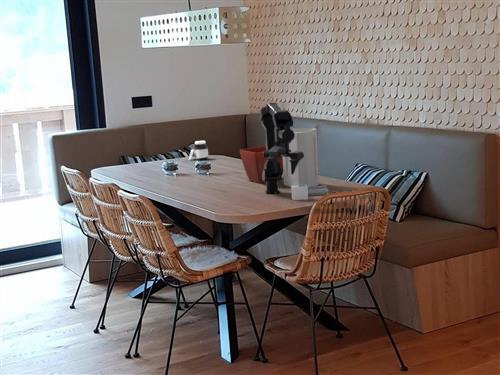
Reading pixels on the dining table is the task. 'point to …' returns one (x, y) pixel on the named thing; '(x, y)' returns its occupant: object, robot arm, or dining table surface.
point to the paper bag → (303, 159)
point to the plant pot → (255, 163)
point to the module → (299, 192)
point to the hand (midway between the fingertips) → (284, 173)
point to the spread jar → (199, 151)
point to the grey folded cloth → (317, 190)
